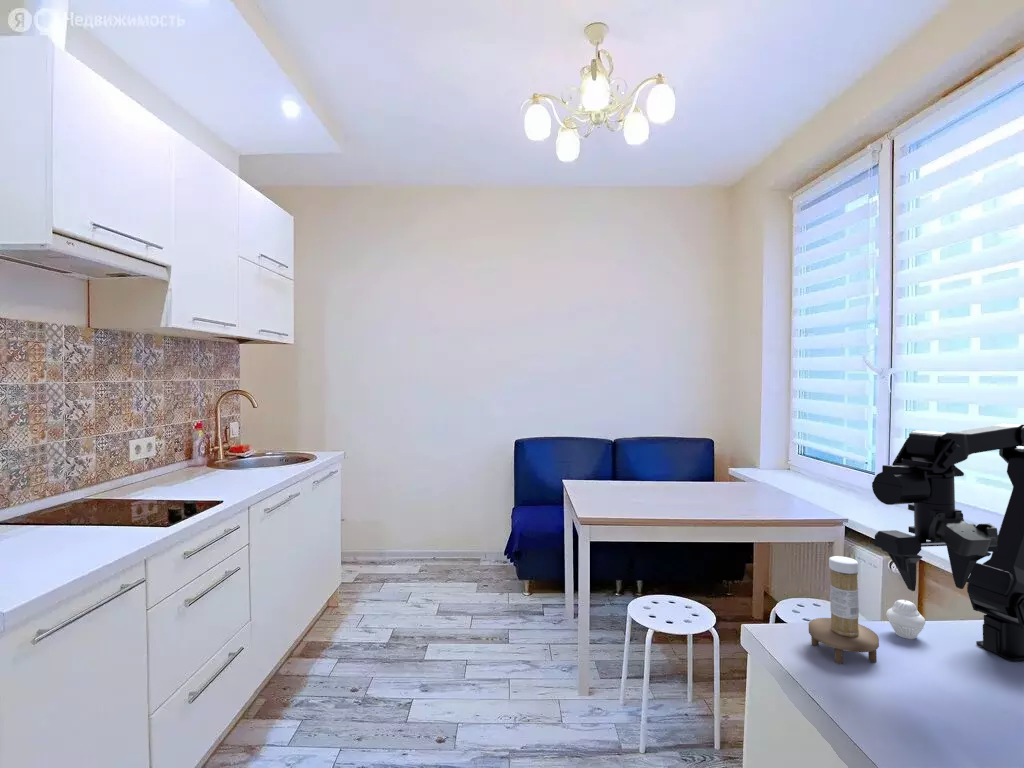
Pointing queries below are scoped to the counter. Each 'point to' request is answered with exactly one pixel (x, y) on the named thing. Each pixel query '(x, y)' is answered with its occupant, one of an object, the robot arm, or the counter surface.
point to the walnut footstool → (843, 639)
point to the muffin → (905, 619)
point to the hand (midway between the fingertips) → (935, 589)
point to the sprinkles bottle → (844, 596)
